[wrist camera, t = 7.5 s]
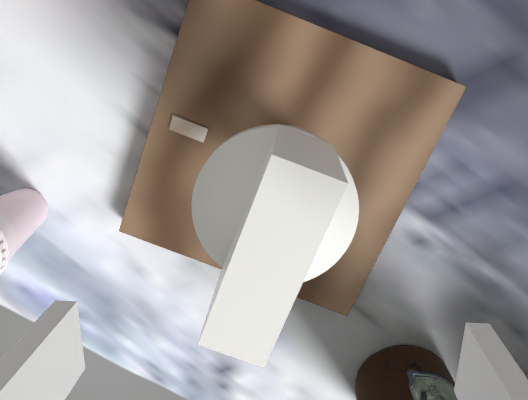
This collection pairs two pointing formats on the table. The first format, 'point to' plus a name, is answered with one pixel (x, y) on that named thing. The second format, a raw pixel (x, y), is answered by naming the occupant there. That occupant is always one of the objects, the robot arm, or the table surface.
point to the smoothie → (19, 220)
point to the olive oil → (404, 376)
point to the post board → (287, 113)
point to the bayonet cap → (269, 230)
